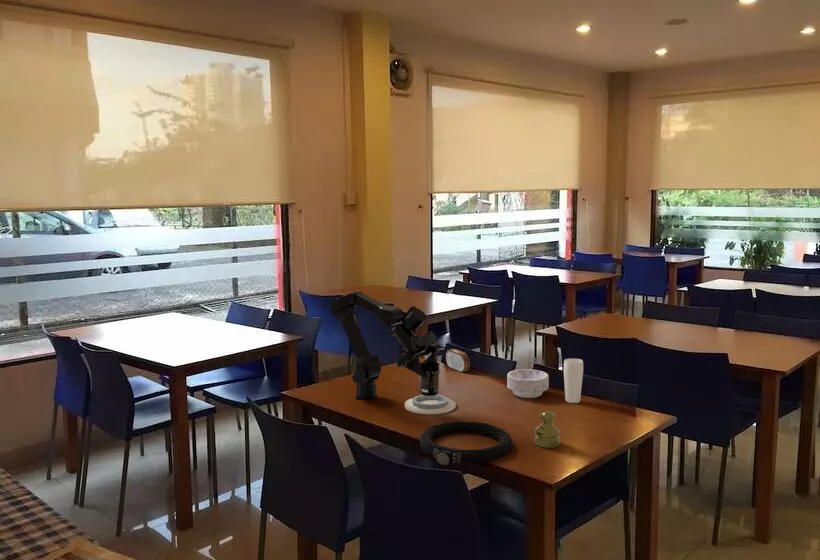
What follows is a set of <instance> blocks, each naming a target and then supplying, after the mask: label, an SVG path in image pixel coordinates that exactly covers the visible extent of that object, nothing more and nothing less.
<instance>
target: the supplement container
mask: <svg viewBox="0 0 820 560" xmlns="http://www.w3.org/2000/svg"><path fill="white" fill-rule="evenodd" d="M420 364H421V366H422V368H423V369H424V371H425V373H426V375H427V378H423V377H422V376H420V375H419V394H420V395H424V396H435V395H439V392H440V373H439V370H441V369H440V364H441V363H439V362H438V361H437V362H432V361H427V362H424V361H422V362H420Z"/></svg>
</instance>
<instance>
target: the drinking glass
mask: <svg viewBox="0 0 820 560" xmlns="http://www.w3.org/2000/svg"><path fill="white" fill-rule="evenodd" d="M583 378H584V361H583V359H580V358H565V359H564V360H563V379H564V381H563V383H564V396H565V397H564V400H565V402H567V403H569V404H579V403H580V402H581V397H582V396H581V393H582V387H583V386H582V385H583Z"/></svg>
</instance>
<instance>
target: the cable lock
mask: <svg viewBox="0 0 820 560" xmlns="http://www.w3.org/2000/svg"><path fill="white" fill-rule="evenodd" d="M464 433H465V434H466V433H470V434H476V435H477V434H478V435H483V436H487V437H491V438H494V440H495V439H496V440H497V441H498V443H497V444H496V445H493V446H489V447H484V448H479V449H475V448H473V449H463V448H462V449H460V448H451V447H446V446H444V445H440V444H437V443H435V442H433V440H434V439H436V438H438V437H441V436H445V435H450V434H464ZM418 439H419V440H418V441H419V445H420V447H421V449H422V450H423V452H425V453H427V454H428V455H430V456H432V457H433V458H434V459H436V460H437V462H438V464H439V465H442V466H447V465H451V463H453V464H461V463H482V462H486V461H493V460H495V459H498V458H500V457H503V456H504V455H506V454H507V453H509V452H510V450H511V449H512V446H513V439H512V437H511V436H510V434H509V433H508V432H507V431H505V430H504V429H503V428H500V427H497V426H495V425H492V424H489V423H485V422H477V421H452V422H443V423H440V424H436V425H432V426H431V427H429V428H427V429H425V430H424V431H423V432H422V433H421V434H420V437H419V438H418Z"/></svg>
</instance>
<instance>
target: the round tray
mask: <svg viewBox="0 0 820 560" xmlns="http://www.w3.org/2000/svg"><path fill="white" fill-rule="evenodd" d="M456 405H457V403H456V401H455V400H453V399H451V398H448V397H447V396H444V395H441V394H437V395H435V396H424V395H422V394H420V395H416V396H414V397H413V398H409V399H407V400H406V401H405V402H404V408H405V410H407V411H408V412H410V413H413V414H418V415H431V416H432V415H442V414H447V413H451V412H452V411H454V410H455V409H456Z"/></svg>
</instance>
